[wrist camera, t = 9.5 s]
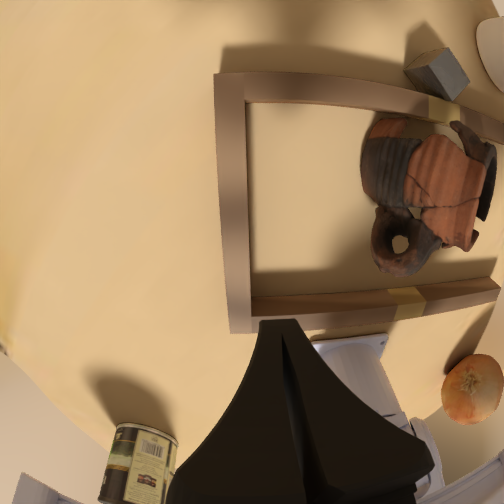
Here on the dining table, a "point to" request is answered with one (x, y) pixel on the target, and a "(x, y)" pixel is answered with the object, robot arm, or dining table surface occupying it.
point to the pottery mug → (425, 192)
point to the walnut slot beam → (236, 201)
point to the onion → (472, 389)
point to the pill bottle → (492, 48)
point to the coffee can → (139, 466)
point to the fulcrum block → (438, 74)
